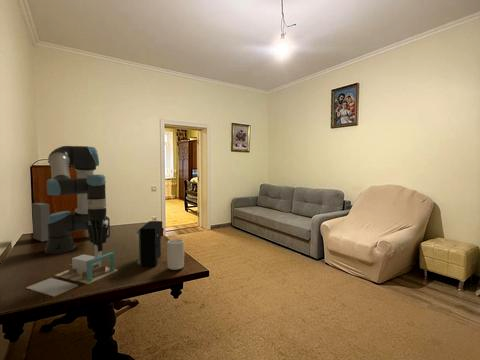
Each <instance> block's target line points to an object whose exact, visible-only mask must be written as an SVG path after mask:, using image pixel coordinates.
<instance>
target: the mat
mask: <svg viewBox="0 0 480 360" xmlns="http://www.w3.org/2000/svg"><path fill="white" fill-rule="evenodd" d="M77 287H79V285H78V284H76V283H72V282H68V281H66V280H65V281H64V280H61V279H57V278H53V277H50V278H47V279H44V280H41V281H39V282H37V283H34V284H31V285H29V286H26V287H25V289H27V290H29V289H30V290H29V291H33V292H37V293H40V294H44V295H46V296H51V297H53V298H55V297H57V296H59V295H61V294H63V293H66V292H68V291H70V290H73V289H75V288H77Z"/></svg>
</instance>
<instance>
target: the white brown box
mask: <svg viewBox="0 0 480 360" xmlns="http://www.w3.org/2000/svg"><path fill="white" fill-rule="evenodd" d="M94 258H95V255H90V254H89V255H88V254H84V253H83V254H81V255H78V256H75V257H72V259H71V262H72V263H71V264H72V269H76V274H81V275H82V272H87V261H89V260H91V259H94ZM101 265H102V260H100V261H98V262H95V263H93V264H92V269H94V268H96V267H99V266H101Z"/></svg>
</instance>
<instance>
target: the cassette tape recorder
mask: <svg viewBox="0 0 480 360" xmlns="http://www.w3.org/2000/svg"><path fill="white" fill-rule="evenodd" d="M31 210H32V213H31V214H32V228H33V229H32V230H33V231H32V234H33V236H32V237H33V240H37V241H40V242H41V243H42V242H48V224H47V222H48V216H49V215H51V213H50V211H51V210H50V204H49V203H45V202H33V203H31Z"/></svg>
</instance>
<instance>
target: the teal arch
mask: <svg viewBox="0 0 480 360" xmlns="http://www.w3.org/2000/svg"><path fill="white" fill-rule="evenodd" d="M115 257H116V256H115V252H114V251H111V252H108V253H105V254H102V256H99V257H97V258H94V259H91V260H89V261H87V280H88V281H92V280H93V271H92V264H93V263H95V262H98V261H100V260H101V261H103V260H106V259H107V258H109V268H110V270H111V271H114V270H115V269H116V263H115Z"/></svg>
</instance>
